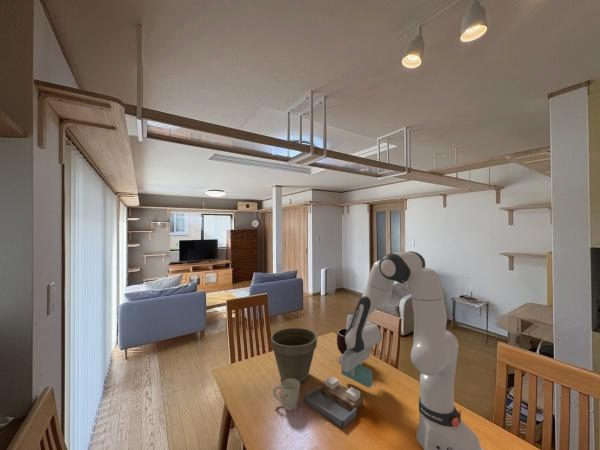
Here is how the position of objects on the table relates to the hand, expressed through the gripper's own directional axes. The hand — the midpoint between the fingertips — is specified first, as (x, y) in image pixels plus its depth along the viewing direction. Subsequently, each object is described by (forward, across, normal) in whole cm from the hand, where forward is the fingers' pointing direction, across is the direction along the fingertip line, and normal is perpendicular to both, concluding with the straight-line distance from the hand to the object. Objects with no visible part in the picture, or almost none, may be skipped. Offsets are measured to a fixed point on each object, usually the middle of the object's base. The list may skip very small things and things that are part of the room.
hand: (356, 372), depth 125 cm
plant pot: (+7, -15, +29) cm, 34 cm away
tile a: (+4, -12, -6) cm, 14 cm away
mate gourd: (+7, +18, +16) cm, 25 cm away
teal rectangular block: (+3, 0, 0) cm, 3 cm away
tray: (+7, -21, 0) cm, 22 cm away
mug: (+7, -33, +15) cm, 37 cm away
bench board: (+7, -12, 0) cm, 14 cm away
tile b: (+4, -12, +6) cm, 14 cm away
